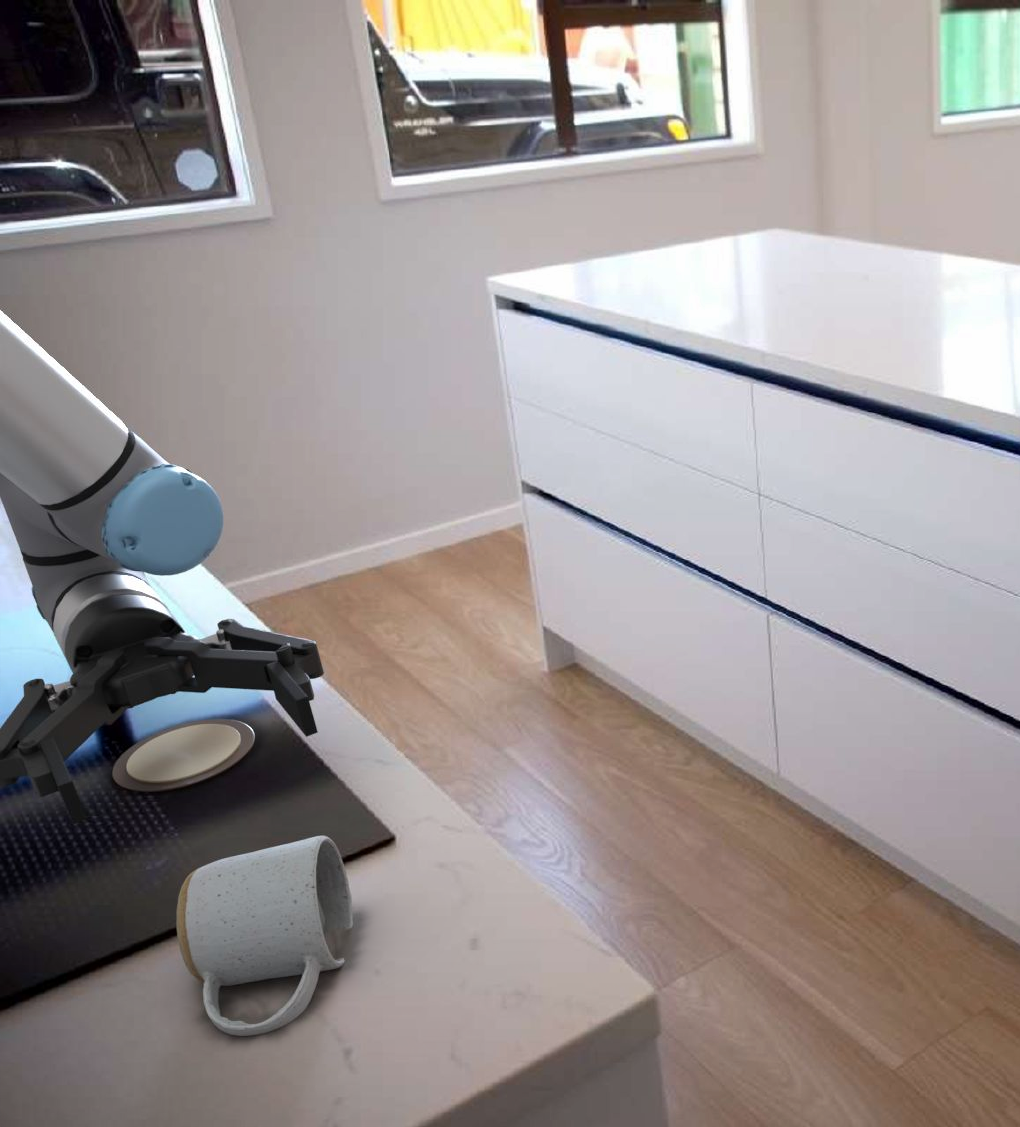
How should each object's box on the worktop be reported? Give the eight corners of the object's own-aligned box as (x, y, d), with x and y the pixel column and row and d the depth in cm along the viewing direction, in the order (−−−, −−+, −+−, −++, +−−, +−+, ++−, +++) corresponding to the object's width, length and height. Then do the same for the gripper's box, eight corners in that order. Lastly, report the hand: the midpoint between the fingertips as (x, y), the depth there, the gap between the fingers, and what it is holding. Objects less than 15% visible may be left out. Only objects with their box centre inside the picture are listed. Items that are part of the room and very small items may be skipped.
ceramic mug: (222, 934, 80) (188, 834, 76) (359, 909, 81) (332, 810, 78) (182, 1062, 70) (142, 955, 67) (338, 1031, 72) (306, 925, 69)
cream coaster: (87, 801, 94) (83, 790, 94) (157, 729, 103) (154, 719, 103) (220, 797, 94) (216, 786, 93) (278, 725, 103) (275, 715, 103)
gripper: (305, 629, 103) (404, 733, 87) (-58, 748, 89) (-17, 897, 74) (282, 543, 99) (380, 635, 84) (-98, 654, 86) (-64, 788, 70)
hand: (195, 758), depth 79 cm, fingers open, 13 cm apart
